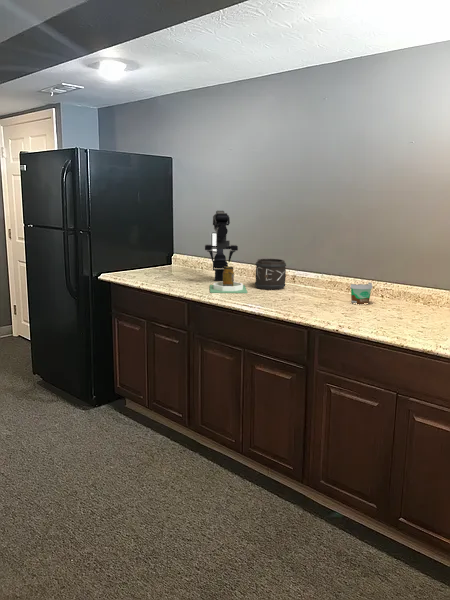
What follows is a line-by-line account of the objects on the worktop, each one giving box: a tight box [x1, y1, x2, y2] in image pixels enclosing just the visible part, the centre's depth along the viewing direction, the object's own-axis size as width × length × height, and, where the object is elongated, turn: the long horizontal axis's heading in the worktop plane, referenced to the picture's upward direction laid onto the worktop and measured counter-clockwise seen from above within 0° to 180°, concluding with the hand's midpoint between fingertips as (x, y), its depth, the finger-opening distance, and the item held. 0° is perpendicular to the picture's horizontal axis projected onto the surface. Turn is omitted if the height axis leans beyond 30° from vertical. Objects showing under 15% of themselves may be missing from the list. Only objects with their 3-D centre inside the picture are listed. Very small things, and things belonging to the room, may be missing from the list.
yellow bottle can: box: [222, 266, 235, 286], centre depth 287 cm, size 7×8×12 cm
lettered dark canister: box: [254, 258, 287, 291], centre depth 293 cm, size 18×18×16 cm
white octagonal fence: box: [213, 281, 244, 291], centre depth 288 cm, size 16×16×2 cm
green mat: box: [209, 284, 248, 294], centre depth 288 cm, size 22×20×1 cm
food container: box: [349, 282, 374, 304], centre depth 254 cm, size 12×6×10 cm, turn 117°
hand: (220, 262), depth 299 cm, fingers open, 9 cm apart
